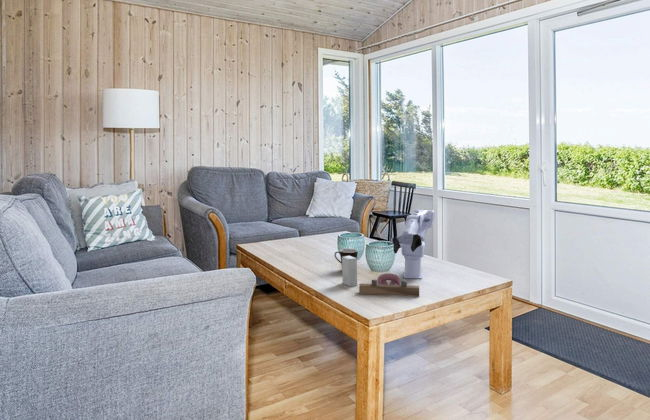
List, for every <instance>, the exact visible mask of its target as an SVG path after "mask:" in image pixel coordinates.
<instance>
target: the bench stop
mask: <svg viewBox="0 0 650 420" xmlns="http://www.w3.org/2000/svg"><path fill="white" fill-rule="evenodd" d="M400 282H401V285H397V284H395V285H390V284H388V285H386V284H378V283H377V279H371V283H359V285H358V294H359V295H374V296H375V295H376V296H379V295H380V296H399V297H402V296H403V297H420V285H409V284H407V283H408V281H407V280H400Z"/></svg>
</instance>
